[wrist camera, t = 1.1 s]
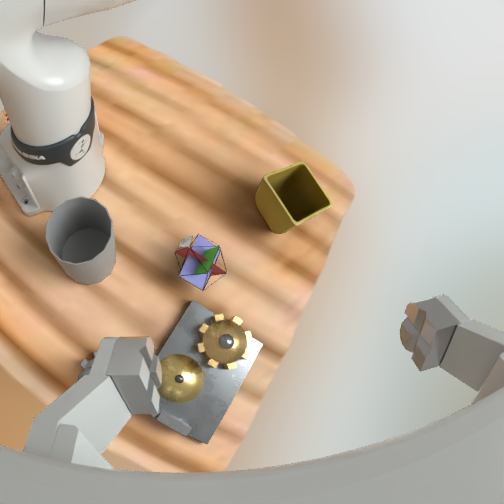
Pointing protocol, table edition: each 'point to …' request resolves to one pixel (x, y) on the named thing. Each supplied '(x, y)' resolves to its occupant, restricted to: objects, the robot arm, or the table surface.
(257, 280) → the table surface
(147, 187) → the table surface
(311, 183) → the flower pot
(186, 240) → the geometric puzzle
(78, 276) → the cup
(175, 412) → the carrier
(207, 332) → the sun gear
